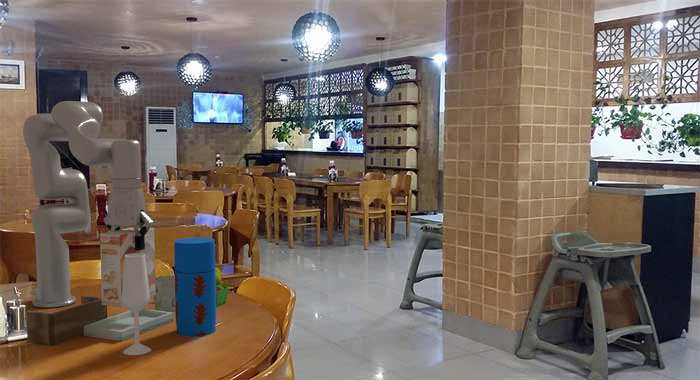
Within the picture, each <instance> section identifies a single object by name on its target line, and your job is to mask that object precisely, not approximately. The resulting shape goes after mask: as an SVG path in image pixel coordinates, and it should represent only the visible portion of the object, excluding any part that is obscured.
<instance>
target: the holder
mask: <svg viewBox="0 0 700 380" xmlns="http://www.w3.org/2000/svg"><path fill="white" fill-rule="evenodd" d="M80 302H81V303H80V304H78V305H75V306H71V307H68V308H65V309H62V310H58V311H55V312H51V313H50V312H49V313H48V312H42V311H36V310H35V311H34V310H26V311H25V312H26V313H25V315H26V336H27V337H26V338H27V340H26V341H27V343H32V344H38V345H45V346H50V347H52V346H55V345H58V344H60V343H61V344H62V343H64V342H67V341H70V340H73V339H75V338H76V339H77V338H78V337H80V336H85V335H84V326H85V325H88V324H91V323H94V322H97V321H100V320H103V319H106V318H108V305H102V296H92V295H80Z"/></svg>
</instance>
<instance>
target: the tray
mask: <svg viewBox="0 0 700 380" xmlns="http://www.w3.org/2000/svg"><path fill="white" fill-rule="evenodd" d="M171 322H172V323H173V322H174V311H173V312H165V311H157V310H156V309H150V308H149V309H148V308H143V309H142V310H141V311H140V312H139V335H141V334H145V333H147V332H150V331H151V330H155V329H157V328H159V327H162V326H165V325H167V324H170V323H171ZM83 336H87V337H93V338H99V339H106V340H111V341H112V340H113V341H118V342H123V341H126V340H128V339H132V338H134V313H133V312H131V311H130V310H128V311H125V312H121V313H118V314H116V315H113V316H110V317H107V318H106V319H103V320H100V321H97V322H94V323H91V324H88V325H85V326H84V335H83Z"/></svg>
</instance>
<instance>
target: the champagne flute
mask: <svg viewBox="0 0 700 380" xmlns="http://www.w3.org/2000/svg"><path fill="white" fill-rule="evenodd" d="M149 300H150V301H151V297H150V293H149V285H148V276H147V268H146V260H145V254H127V255H125V260H124V274H123V288H122V303H123V304H124V306H123V307H125V308H126V309H127V310H128V311H131V312H133V313H134V337H133V338H134V343H133V344H131V345H130V346H129V347H127V348H125V349H124V350H123V351H122V353H123V354H124V355H127V356H128V355H129V356H139V355H144V354H147V353H149V352H151V351H152V348H150V347H149V346H147V345H144V344H142V343H140V334H139V312H140V311H141V310H142V309H145V307H147V305H149V303H148V302H149Z"/></svg>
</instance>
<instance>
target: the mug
mask: <svg viewBox="0 0 700 380" xmlns="http://www.w3.org/2000/svg"><path fill="white" fill-rule="evenodd" d="M155 294H156V295H154V296H153V300H152V301H151V299H150V300H149V302H148V305H154V308H155V309H154V310H157V311H165V312H173V313H174V312H176V311H175V275H157V276H155Z"/></svg>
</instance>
